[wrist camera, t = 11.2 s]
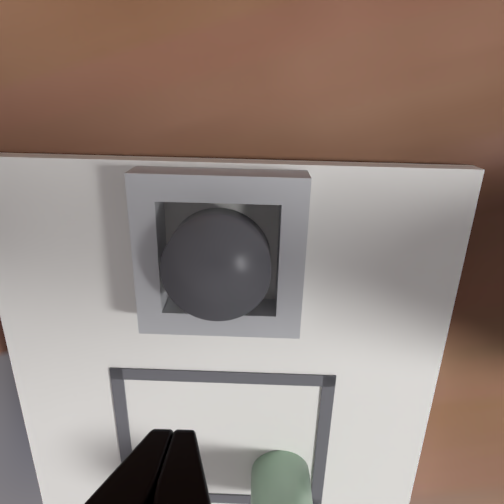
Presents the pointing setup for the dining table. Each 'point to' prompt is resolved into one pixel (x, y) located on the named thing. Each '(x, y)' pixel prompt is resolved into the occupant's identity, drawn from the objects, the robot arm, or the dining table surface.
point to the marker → (280, 479)
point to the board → (237, 330)
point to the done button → (217, 265)
